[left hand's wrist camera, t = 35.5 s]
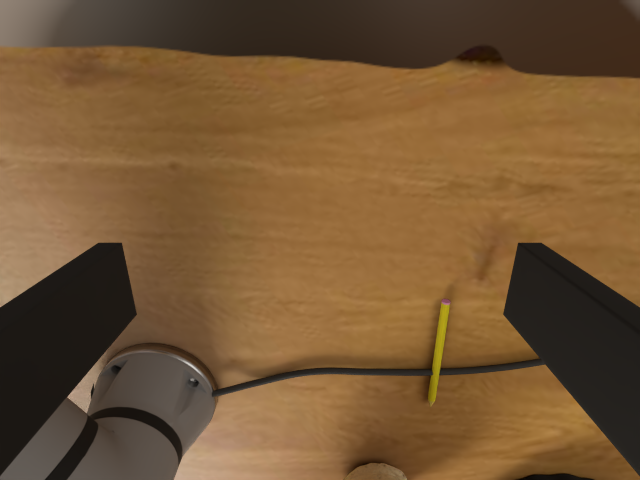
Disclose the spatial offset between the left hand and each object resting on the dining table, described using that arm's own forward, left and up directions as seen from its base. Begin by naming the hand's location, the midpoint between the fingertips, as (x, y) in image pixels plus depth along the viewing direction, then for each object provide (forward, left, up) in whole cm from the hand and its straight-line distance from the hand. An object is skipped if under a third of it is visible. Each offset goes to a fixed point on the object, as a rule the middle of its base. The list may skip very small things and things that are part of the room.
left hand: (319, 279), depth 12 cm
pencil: (-20, +21, -28) cm, 40 cm away
